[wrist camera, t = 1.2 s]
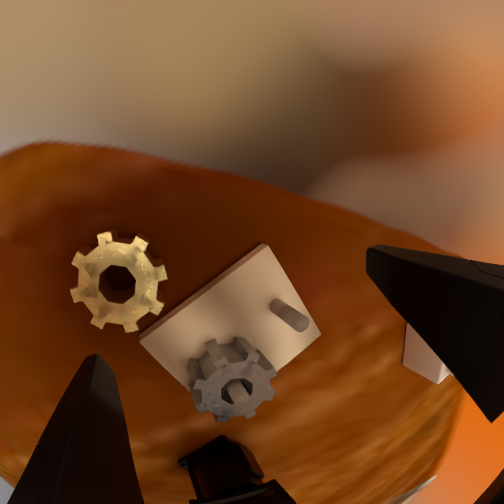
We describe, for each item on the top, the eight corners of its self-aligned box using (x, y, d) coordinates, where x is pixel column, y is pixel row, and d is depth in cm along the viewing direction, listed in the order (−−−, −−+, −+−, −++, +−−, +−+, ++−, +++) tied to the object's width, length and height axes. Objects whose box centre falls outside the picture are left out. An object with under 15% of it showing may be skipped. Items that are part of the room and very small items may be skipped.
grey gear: (226, 410, 22) (236, 431, 19) (170, 376, 19) (175, 399, 17) (275, 362, 23) (291, 380, 20) (225, 321, 20) (237, 338, 18)
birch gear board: (213, 407, 22) (230, 444, 18) (139, 334, 19) (138, 370, 14) (314, 329, 25) (348, 352, 20) (261, 243, 22) (294, 253, 17)
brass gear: (117, 330, 19) (113, 348, 16) (65, 264, 17) (52, 273, 14) (180, 282, 20) (186, 294, 17) (130, 211, 18) (126, 211, 15)
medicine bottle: (429, 343, 35) (488, 370, 23) (401, 365, 32) (464, 400, 21) (433, 303, 33) (500, 326, 22) (405, 323, 31) (479, 355, 20)
